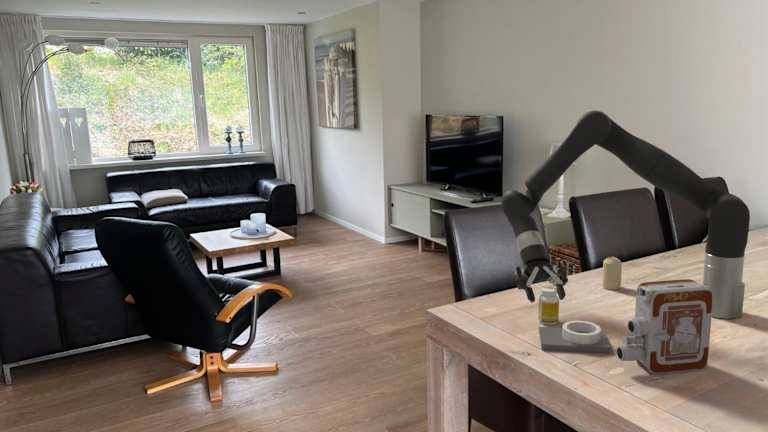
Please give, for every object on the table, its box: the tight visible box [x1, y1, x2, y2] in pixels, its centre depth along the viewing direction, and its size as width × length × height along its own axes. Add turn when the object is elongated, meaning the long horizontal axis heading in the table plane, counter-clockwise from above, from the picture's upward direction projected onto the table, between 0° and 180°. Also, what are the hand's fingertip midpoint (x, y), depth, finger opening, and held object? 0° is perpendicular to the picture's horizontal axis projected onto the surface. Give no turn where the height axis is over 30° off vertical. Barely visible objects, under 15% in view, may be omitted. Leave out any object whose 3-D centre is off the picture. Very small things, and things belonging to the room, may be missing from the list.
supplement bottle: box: [537, 286, 560, 326], centre depth 156 cm, size 5×5×10 cm
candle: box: [602, 256, 623, 291], centre depth 181 cm, size 6×6×10 cm
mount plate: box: [538, 320, 611, 354], centre depth 143 cm, size 16×11×4 cm
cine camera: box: [616, 278, 713, 375], centre depth 126 cm, size 9×19×20 cm, turn 95°
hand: (547, 300), depth 156 cm, fingers open, 8 cm apart
